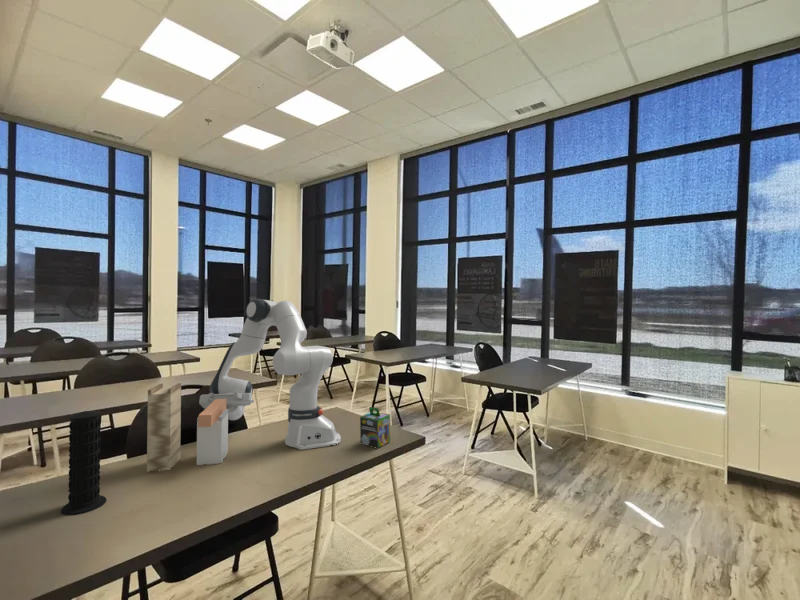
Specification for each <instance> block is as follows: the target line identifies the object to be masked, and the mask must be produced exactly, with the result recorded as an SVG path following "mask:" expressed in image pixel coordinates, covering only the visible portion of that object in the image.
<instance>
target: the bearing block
mask: <svg viewBox="0 0 800 600" xmlns="http://www.w3.org/2000/svg"><path fill="white" fill-rule="evenodd" d="M181 408H182V383H180V382H179V383H176V384H175V385H173V386H171V387H164V384H163V383H158V384H157V385H155V386H153V387H151V388H149V389H147V439H146V440H147V441H146V472H147V471H158V472H162V471H161V470H170V469H171V468H172V467H173V468H174V467H175V465H176V464H177V463H178V462H179V461H180V460H181V432H182V431H181V429H182V427H181V424H182V422H181V421H182V419H181V418H182V415H181V414H182V413H181V412H182V411H181V410H182V409H181ZM179 459H180V460H179ZM178 460H179V461H178ZM177 461H178V462H177ZM176 462H177V463H176ZM175 463H176V464H175ZM173 468H172V469H173ZM172 469H171V470H172ZM159 470H160V471H159ZM171 470H170V471H171Z"/></svg>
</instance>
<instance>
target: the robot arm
mask: <svg viewBox="0 0 800 600" xmlns="http://www.w3.org/2000/svg"><path fill="white" fill-rule="evenodd" d="M245 308H246V309H245V315H246V319H245V322H244V324H243V327H242V330H241V332H240V336H239V338H238V339H237V340H236V342H232V343H231V344H230V345H229V347H228V349H227V351H226V352H225V355H224V357H223V359H222V361H221V363H220V365H219V367H218V370H217V372H216V374H215V375H214V377H213V379H212V381H211V383H210V385H209V391H210V392H209V393H208V394H201V395H200V396H199V399H198V400H199V401H198V402H199V405H200V406H201V407H202V408H203V409H204V410H205V409H206V408H207V407H208V406H209V405H210V404H211V403H212V402H213V401H214V400H215V399H226V409H228V421H229V420H230V421H237V420H239V419H240V418H242V416H243V414H244V412H245V407H247V406H250V405H252V404H254V402H255V400H254V399H252V398H253V392H254V388H253V384H252V383H251V381H249V380H246V379H240V378H235V377H230V376H229V375H228V374H229V371H230V370H231V367H232V364H233V363H234V361H235V359H236V358H239V357H243V356H249V355H254V354H257V353H259V352H260V351H261V350H262V349H263V347H264V345H265V342H266V339H267V334H268V330H269V328H270V327H272V326H274V328H276V329H277V331H278V335H279V338H280V343H281V344H280V347H279V349H277V351H276V352H275V354H274V355H273V358H272V361H271V362H272V367H273V369H274V372H275V373H277V375H283V376H295V375H300V377H299V379H298V380H297V381H296V382H295V383H294V384H292V385H291V387H290V390H289V407H288V410H287V422H288V425H287V426H288V427H287V433H286V437H285V440H284V444H285V445H286V446H288V447H291V448H292V447H293V448H296V449H298V450H300V451H301V450H309V449H310V450H311V449H316V448H324V447H330V445H333V446H337V445H339V444H340V443H341V442H342V437H341V435H340V433H338V432H337V431H336V427H335V425H334V423H333V421H331V420H330V419H329V418H327V417H326V416H324V415H323V414H324V411H323V408H322V407H321V406H319V405H318V391H319V385H320V383H321V380H322V377H323V376H324V374H326V371H327V370H329V368H330V367H331V366H332V363H333V360H334V356H333V353H332V350H331V349H330V348H329V347H327V346H322V345H309V346H307V345H306V346H302V344H301V343H303V342H304V341H305V340H306V338H307V335H308V331H307V328H306V326H305V323H304V321H303V319H302V318H303V317H302V316H301V314H300V313H299V311H298V309H297V307H296V305H295V304H294V303H293V302H291V301H290V300H280V301H278V302H277V301H273V300H269V299H263V298H255V299H251V300H250V301H249V302H248V304H247V305H246V307H245ZM339 442H340V443H339ZM338 443H339V444H338ZM336 444H337V445H336Z"/></svg>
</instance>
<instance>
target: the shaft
mask: <svg viewBox="0 0 800 600" xmlns="http://www.w3.org/2000/svg"><path fill="white" fill-rule="evenodd" d="M225 409H226V399H215V400H214V401H213V402H212V403H211V404H210V405H209V406H208V407H207V408H206V409H205V408H204V409H203V411H201V412H200V413H199V414H198V417H197V418H198V427H211V426H212V425H213V424H214V423H215V422H216V420H217V419H218V418H219V416H220V415H221V414H222V413H223V411H224V410H225Z"/></svg>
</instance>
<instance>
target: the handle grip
mask: <svg viewBox="0 0 800 600" xmlns="http://www.w3.org/2000/svg"><path fill="white" fill-rule="evenodd" d="M101 414H102V413H101V412H100V411H95V410H93V411H92V410H91V411H90V410H84V411H81V412H78V413H77V412H76V413H74V414H71V415H70V416H69V420H70V422H69V424H68V425H69V426H68V428H69V432H68V433H69V436H68V440H69V442H68V445H69V447H68V453H69V455H68V457H69V459H68V464H69V465H68V469H69V470H68V492H69V494H68V498H67V499H68V503H66V504H65V505H63V506H62V508H61V509H60V514H61V515H65V516H76V515H83V514H86V513H90V512H92V511H94V509H95V510H97V509H98V508H101V507H102V506H104V505H105V504H106V503H107V498H106V496H104V495H101V494H100V493H101V488H100V485H101V483H100V481H101V475H100V474H101V471H100V469H101V464H100V463H101V459H100V458H101V453H100V452H101V435H102V434H101V433H102V432H101V421H102V420H101ZM89 511H90V512H89Z"/></svg>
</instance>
